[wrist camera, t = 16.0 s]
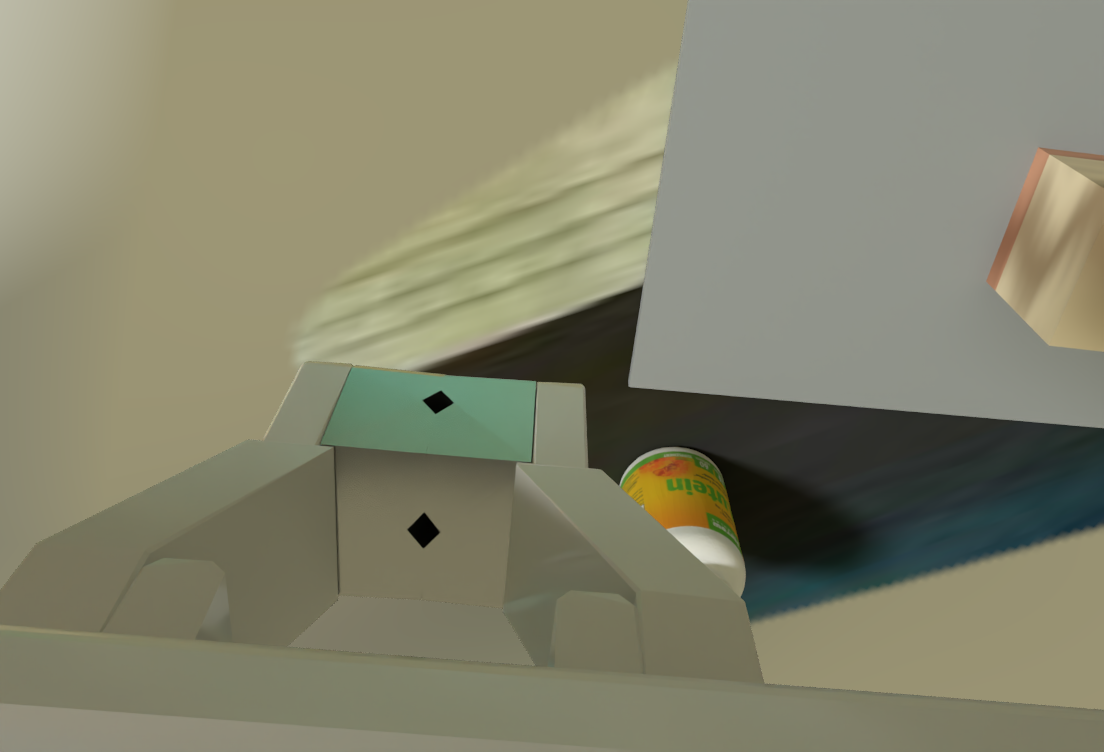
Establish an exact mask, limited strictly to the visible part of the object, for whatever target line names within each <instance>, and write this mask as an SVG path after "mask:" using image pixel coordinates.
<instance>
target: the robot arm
mask: <svg viewBox="0 0 1104 752" xmlns="http://www.w3.org/2000/svg"><path fill="white" fill-rule="evenodd" d="M338 596H356V597H357V596H358V597H375V598H395V599H413V600H426V601H436V602H445V603H455V604H464V605H475V606H483V607H492V608H502V609H503V613H504V615H505V616H506V618H507V619H508V621H509V623H510V624H511V626H512V628H513V629H514V631H515V633H516V634H517V636H518V638H519V639H520V641H521V643H522V644H523V646H524V647H525V649H526V651H527V652H528V654H529V656H530V657H531V659H532V661H533V662H534V664H535V666H529V665H517V664H504V663H491V662H478V661H465V660H452V659H439V658H426V657H413V656H401V655H388V654H374V653H362V652H349V651H336V650H323V649H310V648H297V647H287V646H288V645H289V644H291V642H293V641H294V640H295V639H296V638H297V637H298V636H299V635H300V634H301V633H302V632H304V631H305V630H306V629H307V628H308V627H309V626H310V625H311V624H312V623H313V622H315V621H316V620H317V619H318V618H319V617H320V616H321V615H322V614H323V613H324V612H326V611H327V610H328V609H329V608H330V607H331V606H332V605H333V604H334V603H335V602H336V601H338ZM0 752H1104V710H1098V709H1085V708H1073V707H1060V706H1046V705H1035V704H1022V703H1009V702H996V701H982V700H970V699H958V698H945V697H932V696H920V695H906V694H893V693H881V692H868V691H855V690H842V689H829V688H828V689H827V688H816V687H803V686H790V685H775V684H764V680H763V676H762V672H761V668H760V664H759V659H758V655H757V651H756V647H755V642H754V639H753V634H752V630H751V626H750V621H749V617H748V613H747V609H746V605H745V602H744V601H743V600H742V599H741V598H740V597H739V596H738V595H737V594H736V593H735V592H734V591H733V590H731V589H730V588H729V587H728V586H727V585H726V584H725V583H724V582H723V581H722V580H721V579H719V578H718V577H717V576H716V575H715V574H714V573H713V572H712V571H711V570H710V569H709V568H708V567H706V566H705V565H704V564H703V563H702V562H701V561H700V560H699V559H698V558H697V557H696V556H694V555H693V554H692V553H691V552H690V551H689V550H688V549H687V548H686V547H685V546H684V545H683V544H681V543H680V542H679V541H678V540H677V539H676V538H675V537H674V536H673V535H672V534H671V533H669V532H668V531H667V530H666V529H665V528H664V527H663V526H662V525H661V524H660V523H659V522H657V521H656V520H655V519H654V518H653V517H652V516H651V515H650V514H649V513H648V512H647V511H646V510H644V509H643V508H642V507H641V506H640V505H639V504H638V503H637V502H636V501H635V500H634V499H632V498H631V497H630V496H629V495H628V494H627V493H626V492H625V491H624V490H623V489H622V488H621V487H619V486H618V485H617V484H616V483H615V482H614V481H613V480H612V479H611V478H610V477H609V476H607V475H606V474H605V473H604V472H603V471H602V470H600V469H589V468H588V454H587V429H586V403H585V387H584V386H583V385H582V384H572V383H550V382H537V386H536V381H524V380H509V379H493V378H478V377H462V376H447V375H443V374H434V373H425V372H415V371H406V370H397V369H387V368H378V367H369V366H359V365H356V366H353V365H352V364H347V363H332V362H317V361H308V362H305V363H303V364H302V365H301V367H300V369H299V371H298V373H297V375H296V376H295V378H294V380H293V382H292V384H291V386H290V388H289V390H288V392H287V394H286V396H285V398H284V399H283V401H282V403H281V406H280V407H279V409H278V411H277V413H276V415H275V417H274V419H273V421H272V423H271V424H270V427H269V428H268V430H267V432H266V434H265V436H264V438H263V440H262V441H260V440H246V441H244V442H242V443H240V444H238V445H236V446H234V447H232V448H230V449H228V450H226V451H224V452H222V453H220V454H218V455H216V456H214V457H211V458H210V459H207V460H206V461H204V462H201V463H199V464H197V465H195V466H193V467H191V468H189V469H187V470H185V471H183V472H181V473H179V474H177V475H175V476H173V477H171V478H169V479H167V480H165V481H163V482H160V483H159V484H156V485H154V486H152V487H150V488H148V489H146V490H144V491H143V492H140V493H138V494H136V495H134V496H132V497H130V498H128V499H126V500H124V501H122V502H120V503H118V504H116V505H114V506H112V507H110V508H108V509H105V510H104V511H101V512H99V513H97V514H95V515H93V516H91V517H89V518H87V519H85V520H83V521H81V522H79V523H77V524H75V525H73V526H71V527H69V528H67V529H65V530H63V531H61V532H59V533H56V534H54V535H53V536H51V537H48V538H46V539H44V540H42V541H40V542H38V543H36V545H35V546H34V547H33V548H32V550H31V551H30V552H29V554H28V555H27V556H26V557H25V559H24V560H23V561H22V563H21V564H20V565H19V566H18V568H17V569H16V570H15V572H14V573H13V574H12V575H11V577H10V578H9V579H8V581H7V582H6V583H5V584H4V586H3V587H2V588H1V590H0Z"/></svg>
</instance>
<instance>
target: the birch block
mask: <svg viewBox="0 0 1104 752" xmlns="http://www.w3.org/2000/svg"><path fill="white" fill-rule="evenodd" d="M986 282H987V283H988V284H989V285H990V286H991V287H992V288H993V289H994V290H995V291H996V292H997V293H998V294H999V295H1000V296H1001V297H1002V298H1003V299H1004V300H1005V301H1006V302H1007V303H1008V304H1009V305H1010V306H1011V307H1012V308H1013V310H1014V311H1015V312H1016V313H1017V314H1018V315H1019V316H1020V317H1021V318H1022V319H1023V320H1024V321H1025V322H1026V323H1027V324H1028V325H1029V326H1030V327H1031V328H1032V329H1033V330H1034V331H1035V332H1036V333H1037V334H1038V335H1039V336H1040V337H1041V338H1042V339H1043V340H1044V341H1045V342H1046V343H1047V344H1048V345H1049V346H1056V347H1065V348H1074V349H1083V350H1092V351H1101V352H1104V155H1096V154H1088V153H1080V152H1072V151H1064V150H1056V149H1048V148H1040V147H1038V149H1037V152H1036V154H1035V157H1034V160H1033V162H1032V165H1031V167H1030V170H1029V172H1028V175H1027V178H1026V180H1025V183H1024V185H1023V188H1022V190H1021V193H1020V195H1019V198H1018V201H1017V203H1016V206H1015V208H1014V211H1013V213H1012V216H1011V219H1010V221H1009V224H1008V226H1007V229H1006V231H1005V234H1004V237H1003V239H1002V242H1001V244H1000V247H999V249H998V252H997V255H996V257H995V260H994V262H993V265H992V267H991V270H990V273H989V275H988V278H987V280H986Z"/></svg>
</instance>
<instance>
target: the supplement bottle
mask: <svg viewBox="0 0 1104 752" xmlns="http://www.w3.org/2000/svg"><path fill="white" fill-rule="evenodd" d="M620 487H621V488H622V489H623V490H624V491H625V492H626V493H627V494H628V495H629V496H630V497H631V498H632V499H634V500H635V501H636V502H637V503H638V504H639V505H640V506H641V507H642V508H643V509H644V510H646V511H647V512H648V513H649V514H650V515H651V516H652V517H653V518H654V519H655V520H656V521H657V522H659V523H660V524H661V525H662V526H663V527H664V528H665V529H666V530H667V531H668V532H669V533H671V534H672V535H673V536H674V537H675V538H676V539H677V540H678V541H679V542H680V543H681V544H683V545H684V546H685V547H686V548H687V549H688V550H689V551H690V552H691V553H692V554H693V555H694V556H696V557H697V558H698V559H699V560H700V561H701V562H702V563H703V564H704V565H705V566H706V567H708V568H709V569H710V570H711V571H712V572H713V573H714V574H715V575H716V576H717V577H718V578H719V579H721V580H722V581H723V582H724V583H725V584H726V585H727V586H728V587H729V588H730V589H731V590H733V591H734V592H735V593H736V594H737V595H738V596H739V597H741V595H742V592H743V589H744V586H745V577H746V573H745V565H744V560H743V556H742V552H741V548H740V544H739V540H738V537H737V532H736V528H735V524H734V520H733V516H732V513H731V508H730V504H729V500H728V496H727V491H726V487H725V484H724V481H723V477H722V475H721V473H720V471H719V469H718V468H717V466H716V465H715V464H714V463H713V462H712V461H711V460H710V459H709V458H708V457H706V456H705V455H704V454H702V453H700V452H697V451H695V450H692V449H688V448H683V447H665V448H659V449H656V450H653V451H650V452H648V453H646V454H644V455H642V456H640V457H639V458H637V459H636V460H635V461H634V462H633V463H632V464H631V465H630V466H629V467H628V469H627V470H626V471H625V473H624V475H623V477H622V479H621V482H620Z"/></svg>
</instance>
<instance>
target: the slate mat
mask: <svg viewBox="0 0 1104 752" xmlns="http://www.w3.org/2000/svg"><path fill="white" fill-rule="evenodd" d="M1038 147H1040V148H1048V149H1056V150H1064V151H1072V152H1080V153H1088V154H1096V155H1104V0H688V4H687V11H686V17H685V24H684V31H683V36H682V43H681V49H680V55H679V62H678V68H677V74H676V81H675V87H674V94H673V100H672V106H671V113H670V119H669V125H668V132H667V138H666V145H665V151H664V157H663V164H662V170H661V176H660V183H659V189H658V195H657V202H656V208H655V215H654V221H653V227H652V234H651V240H650V246H649V253H648V259H647V266H646V272H645V278H644V285H643V291H642V297H641V304H640V310H639V316H638V323H637V329H636V336H635V342H634V348H633V355H632V361H631V367H630V374H629V380H628V383H629V387H636V388H648V389H659V390H671V391H682V392H694V393H705V394H717V395H728V396H740V397H752V398H763V399H775V400H786V401H798V402H809V403H821V404H832V405H844V406H855V407H867V408H878V409H890V410H901V411H913V412H925V413H936V414H948V415H959V416H971V417H982V418H994V419H1005V420H1017V421H1028V422H1040V423H1051V424H1063V425H1074V426H1086V427H1097V428H1104V352H1101V351H1092V350H1083V349H1074V348H1065V347H1056V346H1049V345H1048V344H1047V343H1046V342H1045V341H1044V340H1043V339H1042V338H1041V337H1040V336H1039V335H1038V334H1037V333H1036V332H1035V331H1034V330H1033V329H1032V328H1031V327H1030V326H1029V325H1028V324H1027V323H1026V322H1025V321H1024V320H1023V319H1022V318H1021V317H1020V316H1019V315H1018V314H1017V313H1016V312H1015V311H1014V310H1013V308H1012V307H1011V306H1010V305H1009V304H1008V303H1007V302H1006V301H1005V300H1004V299H1003V298H1002V297H1001V296H1000V295H999V294H998V293H997V292H996V291H995V290H994V289H993V288H992V287H991V286H990V285H989V284H988V283H987V282H986V280H987V278H988V275H989V273H990V270H991V267H992V265H993V262H994V260H995V257H996V255H997V252H998V249H999V247H1000V244H1001V242H1002V239H1003V237H1004V234H1005V231H1006V229H1007V226H1008V224H1009V221H1010V219H1011V216H1012V213H1013V211H1014V208H1015V206H1016V203H1017V201H1018V198H1019V195H1020V193H1021V190H1022V188H1023V185H1024V183H1025V180H1026V178H1027V175H1028V172H1029V170H1030V167H1031V165H1032V162H1033V160H1034V157H1035V154H1036V152H1037V149H1038Z"/></svg>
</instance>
